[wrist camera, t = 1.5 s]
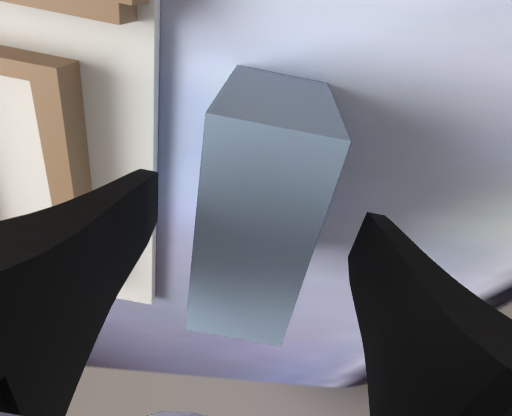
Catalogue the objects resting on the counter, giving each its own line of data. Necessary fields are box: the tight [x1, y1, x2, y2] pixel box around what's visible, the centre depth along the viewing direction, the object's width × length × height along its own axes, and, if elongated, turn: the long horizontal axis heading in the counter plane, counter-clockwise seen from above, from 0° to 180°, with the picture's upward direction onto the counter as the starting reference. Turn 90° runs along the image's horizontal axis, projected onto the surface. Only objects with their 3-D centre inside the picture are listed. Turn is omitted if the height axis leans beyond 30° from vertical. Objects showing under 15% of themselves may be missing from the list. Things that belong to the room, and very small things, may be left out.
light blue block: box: [185, 65, 351, 347], centre depth 13 cm, size 8×4×6 cm, turn 170°
